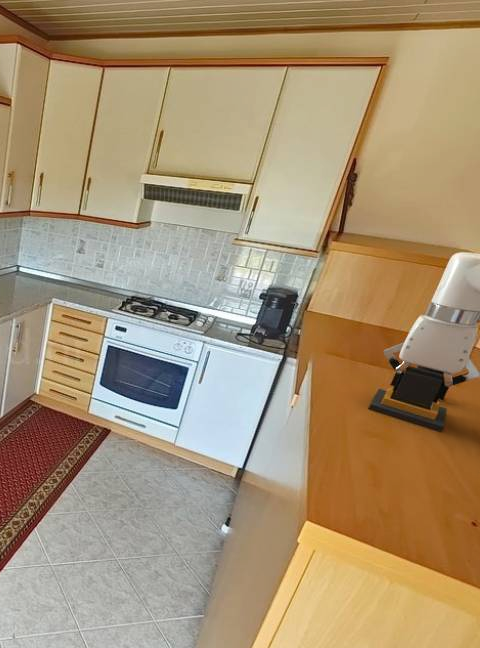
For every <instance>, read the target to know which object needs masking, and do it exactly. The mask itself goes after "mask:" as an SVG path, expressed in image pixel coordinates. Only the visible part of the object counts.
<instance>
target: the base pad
mask: <svg viewBox="0 0 480 648" xmlns="http://www.w3.org/2000/svg"><path fill="white" fill-rule="evenodd" d="M392 390H393V388H392V387H388V389H387V390H386V389H383V388H378V389H377V391H376V393H375V395H374V397H373V399H372V400H371V402H370V404H369V406H368V410H370V411H373V412H377V413H379V414H383V415H386V416H389V417H391V418H392V417H393V418H395V419H399V420H402V421H405V422H407V423H412V424H415V425H418V426H422V427H425V428H427V429H430V430H432V431H437V432H440V433H442V432H443V431H444V429H445V426H446V419H447V418H446V417H447V410H448V408H447V407H443V406H440V401H437V403H432V405H431V406H428V405H425V404H421V403H418V402H414V401H411V400H408V399H404V398H401V397H397V396H395V393H396V391H392Z"/></svg>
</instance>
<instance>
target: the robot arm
mask: <svg viewBox="0 0 480 648" xmlns="http://www.w3.org/2000/svg"><path fill="white" fill-rule="evenodd" d="M478 323H480V253H477V252H470V251H469V252H468V251H467V252H466V251H460V252H456V253H454V254H453V255H452V256H451V257H450V258H449V260H448V262H447V264H446V267H445V269H444V271H443V274H442V275H441V279H440V280H439V283H438V286H437V288H436V290H435V291H434V294H433V296H432V299H431V301H430V303H429V305H428V308H427V310H426V312H425V315H424V314H420V315H419V316H418V318H417V319H416V320H415V322H414V323H413V325H412V327H411V329H410V330H409V332H408V334H407V336H406V338H405V340H404V342H402V343H399V344H396V345H394V346H391V347H389V348H386V349H384V350H383V351H382V354H383V355H384V357H385V358H386V359H387V361H388V363H389V365H390V366H391V367H392V368H393V369H392V370H394V372H395V373H394V375H393V378H392V380H391V382H390V386H392V387H393V388H392V389H393V390H392V391H397V389H398V386H399V384H400V382H401V380H402V377H403V375H404V373H405V371H406V368H407V367H409V366H411V365H414V366H417V367H418V366H422V367H426V368H430V369H434V370H438V371H442V372H443V373H444V380H443V382H442V384H441V386H440V389H439V391H438V393H437V395H436V397H435V399H434V401H433V403H437V402H439V400H441V401H443V400H444V399H445V397H446V394H447V393H448V390H449V388H451V387H453V386H456V385H460V384H462V383H465V382H467V381H472V380H475V379H478V378H480V372H479V370H478V368H477V367H476V366H475V365H474V362H473V361H472V360H471V359H470V356H471V353H472V350H473V348H474V346H475V342H476V339H477V337H478V334H479V333H478V332H479V326H477V325H476V324H478ZM398 352H399V356H398V357H399V359H400V360H402V361H401V362H400V361H399V360H398V359H397V357H396V356H395V354H397V353H398ZM464 368H465V369H466V371H467V372H466V373H464V374H460V373H462V372H463V370H464ZM456 374H459V375H456ZM453 375H455V376H453Z"/></svg>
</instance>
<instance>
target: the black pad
mask: <svg viewBox="0 0 480 648" xmlns="http://www.w3.org/2000/svg"><path fill="white" fill-rule="evenodd" d="M443 377H444V375H442V374H439V373H435V372H431V371H427V370H423V369H419V368H417V367H415V366H411V365H410V366H409V367H407V368H406V369H405V371H404V375H403V377H402V380H401V382H400V384H399V386H398V389H397V391H396V393H395V396H397V397H401V398H404V399H408V400H411V401H414V402H418V403H421V404H425V405H428V406H431V405H432V403H433V401H434V399H435V397H436V395H437V393H438V391H439V389H440V386H441V384H442V382H443Z"/></svg>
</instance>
